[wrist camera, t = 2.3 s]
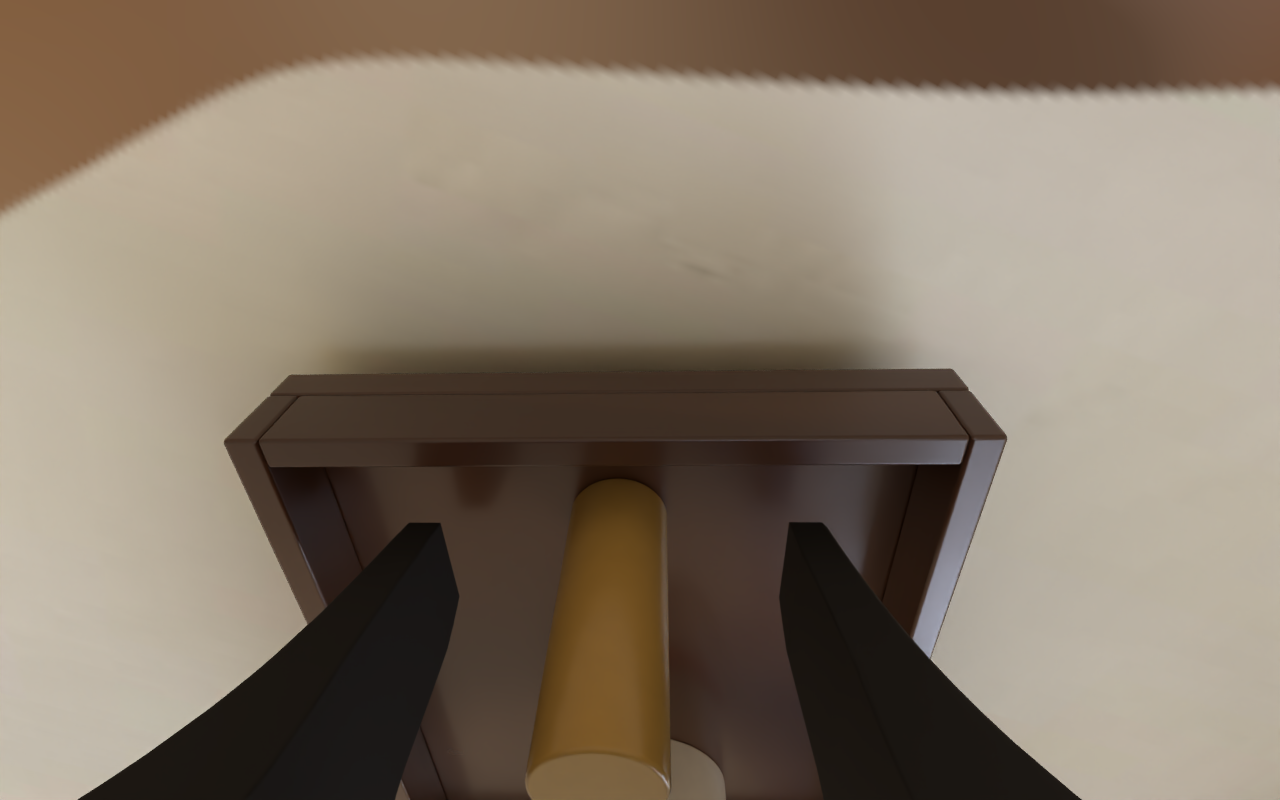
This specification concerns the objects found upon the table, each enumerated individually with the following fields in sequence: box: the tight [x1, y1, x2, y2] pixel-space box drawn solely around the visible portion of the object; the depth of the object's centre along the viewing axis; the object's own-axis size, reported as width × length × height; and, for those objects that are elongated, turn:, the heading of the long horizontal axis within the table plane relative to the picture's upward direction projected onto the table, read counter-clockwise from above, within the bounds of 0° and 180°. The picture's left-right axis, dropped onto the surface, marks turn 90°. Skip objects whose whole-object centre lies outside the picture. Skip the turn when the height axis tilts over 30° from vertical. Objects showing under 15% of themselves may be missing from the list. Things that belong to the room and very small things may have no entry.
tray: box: [224, 369, 1007, 800], centre depth 14 cm, size 18×13×6 cm
